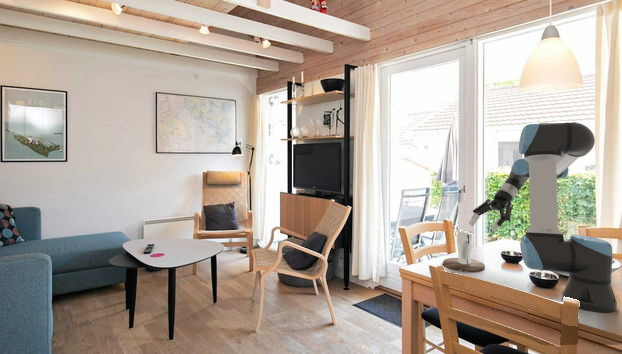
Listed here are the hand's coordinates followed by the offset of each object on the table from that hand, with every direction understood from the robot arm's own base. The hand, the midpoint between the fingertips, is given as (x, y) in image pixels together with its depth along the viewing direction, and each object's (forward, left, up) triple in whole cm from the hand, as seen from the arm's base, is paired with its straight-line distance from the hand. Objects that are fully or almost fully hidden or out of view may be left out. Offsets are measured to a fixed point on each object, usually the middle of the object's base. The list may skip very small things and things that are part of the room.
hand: (481, 227), depth 173 cm
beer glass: (-4, +9, -16) cm, 19 cm away
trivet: (-3, +10, -17) cm, 20 cm away
